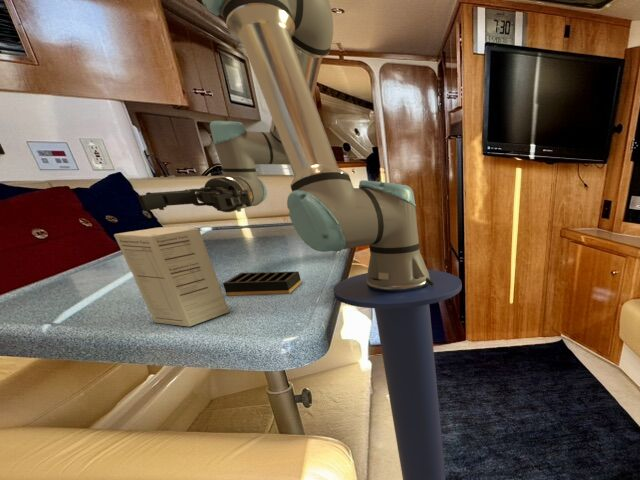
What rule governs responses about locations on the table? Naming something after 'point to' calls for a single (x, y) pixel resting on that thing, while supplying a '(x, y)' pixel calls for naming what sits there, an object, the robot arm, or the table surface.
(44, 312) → the table surface
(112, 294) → the table surface
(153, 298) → the supplement box
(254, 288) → the dish rack
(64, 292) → the table surface
